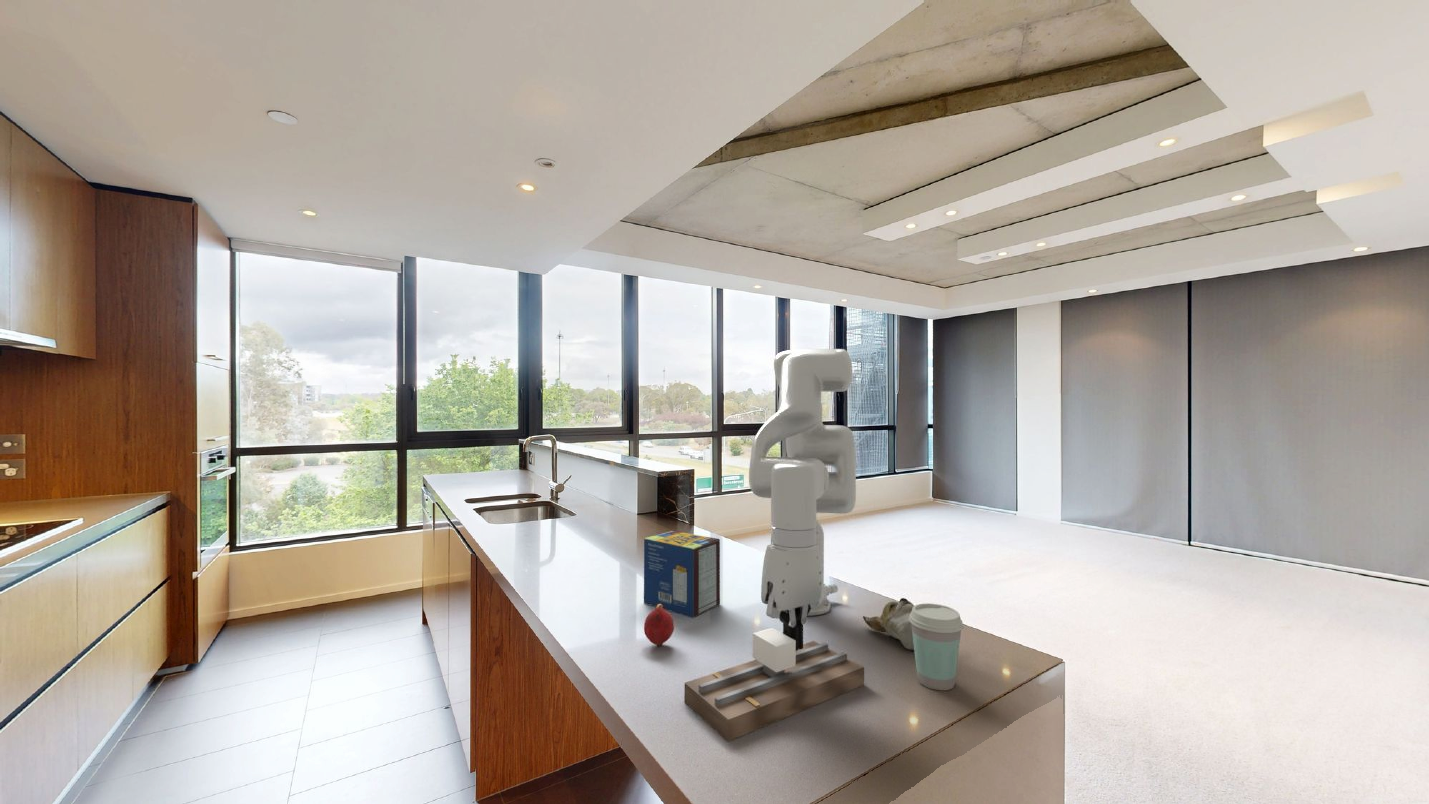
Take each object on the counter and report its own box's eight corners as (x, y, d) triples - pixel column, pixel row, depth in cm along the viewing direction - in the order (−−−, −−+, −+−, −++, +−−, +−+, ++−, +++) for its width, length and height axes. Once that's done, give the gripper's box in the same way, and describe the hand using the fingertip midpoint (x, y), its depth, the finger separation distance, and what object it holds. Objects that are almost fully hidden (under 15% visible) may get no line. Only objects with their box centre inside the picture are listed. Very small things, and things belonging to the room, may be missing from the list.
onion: (668, 653, 102) (669, 611, 102) (639, 651, 103) (640, 608, 103) (677, 640, 107) (677, 600, 107) (649, 638, 109) (649, 598, 109)
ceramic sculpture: (899, 610, 100) (859, 589, 115) (900, 658, 100) (860, 631, 114) (949, 606, 103) (903, 586, 118) (950, 653, 102) (904, 626, 117)
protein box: (670, 591, 136) (671, 529, 136) (720, 604, 127) (721, 538, 127) (642, 603, 128) (642, 537, 128) (693, 618, 119) (693, 548, 119)
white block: (771, 663, 91) (771, 627, 91) (795, 678, 86) (795, 640, 86) (752, 669, 89) (752, 633, 89) (776, 685, 84) (776, 646, 84)
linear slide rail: (813, 656, 101) (813, 635, 101) (864, 684, 91) (864, 660, 91) (684, 701, 85) (684, 676, 85) (728, 741, 75) (728, 712, 75)
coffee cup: (960, 674, 94) (960, 605, 95) (965, 699, 86) (966, 624, 86) (908, 666, 97) (908, 599, 97) (909, 689, 89) (909, 617, 89)
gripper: (810, 527, 97) (809, 629, 97) (744, 538, 89) (743, 649, 89) (841, 535, 91) (841, 644, 91) (773, 548, 83) (773, 668, 82)
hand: (793, 646), depth 90 cm, fingers closed
